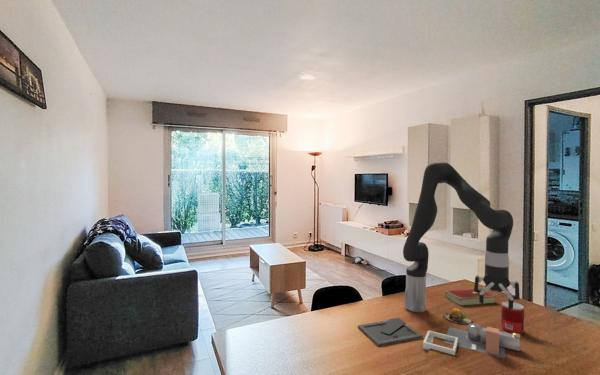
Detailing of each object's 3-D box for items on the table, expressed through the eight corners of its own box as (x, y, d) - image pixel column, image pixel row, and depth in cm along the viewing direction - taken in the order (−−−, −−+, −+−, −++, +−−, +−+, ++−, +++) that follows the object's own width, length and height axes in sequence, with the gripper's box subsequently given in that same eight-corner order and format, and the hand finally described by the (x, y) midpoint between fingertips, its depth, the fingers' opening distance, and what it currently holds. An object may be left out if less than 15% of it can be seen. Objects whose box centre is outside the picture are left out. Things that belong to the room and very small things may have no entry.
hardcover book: (445, 297, 171) (445, 290, 171) (478, 295, 175) (478, 287, 175) (460, 306, 160) (460, 298, 159) (495, 303, 164) (495, 295, 163)
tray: (422, 348, 119) (423, 342, 119) (428, 336, 129) (428, 330, 128) (454, 357, 113) (454, 350, 113) (458, 344, 123) (458, 337, 123)
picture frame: (398, 321, 143) (357, 328, 136) (398, 317, 143) (357, 324, 136) (422, 339, 128) (378, 347, 121) (422, 334, 127) (378, 342, 121)
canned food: (527, 335, 130) (527, 309, 129) (505, 333, 131) (506, 307, 131) (518, 326, 137) (518, 302, 137) (498, 325, 139) (498, 300, 138)
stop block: (485, 352, 115) (486, 330, 115) (486, 347, 119) (486, 326, 119) (498, 355, 113) (499, 333, 113) (498, 350, 117) (499, 329, 116)
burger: (477, 323, 141) (477, 307, 141) (462, 329, 135) (462, 312, 135) (452, 313, 151) (453, 298, 151) (437, 319, 145) (437, 303, 145)
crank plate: (444, 344, 122) (444, 342, 122) (449, 329, 135) (449, 326, 135) (505, 361, 111) (505, 358, 111) (504, 342, 124) (504, 339, 124)
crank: (467, 339, 124) (467, 325, 123) (468, 334, 128) (468, 320, 128) (520, 352, 114) (520, 337, 114) (519, 346, 119) (519, 332, 118)
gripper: (474, 263, 116) (473, 306, 117) (520, 269, 109) (519, 315, 109) (475, 258, 123) (474, 299, 123) (519, 264, 115) (518, 307, 115)
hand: (495, 306), depth 116 cm, fingers open, 8 cm apart
